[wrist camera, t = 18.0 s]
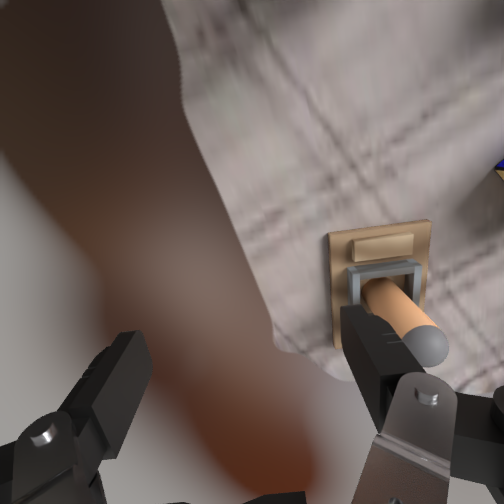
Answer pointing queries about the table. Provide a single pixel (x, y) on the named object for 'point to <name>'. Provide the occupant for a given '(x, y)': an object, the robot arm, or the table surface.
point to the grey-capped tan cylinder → (407, 321)
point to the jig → (377, 264)
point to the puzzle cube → (500, 169)
